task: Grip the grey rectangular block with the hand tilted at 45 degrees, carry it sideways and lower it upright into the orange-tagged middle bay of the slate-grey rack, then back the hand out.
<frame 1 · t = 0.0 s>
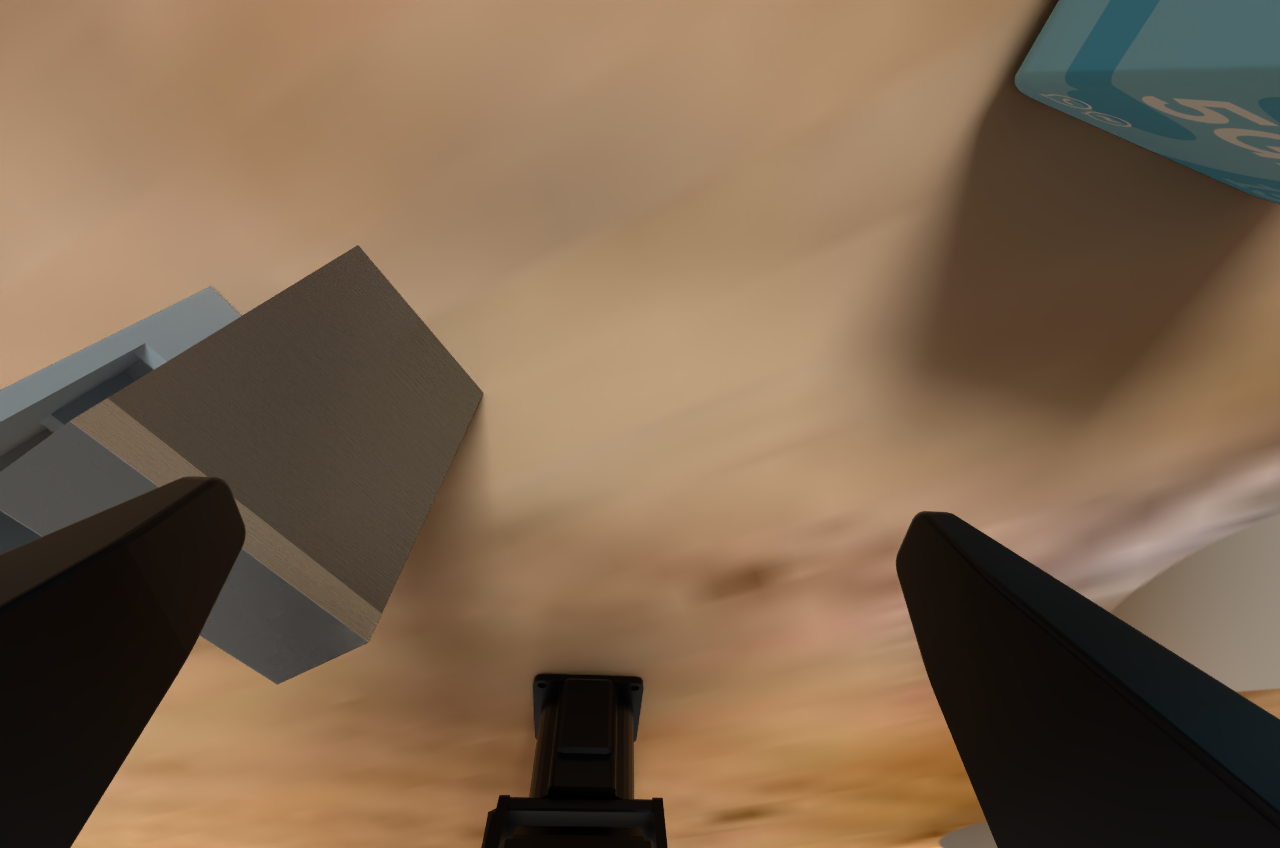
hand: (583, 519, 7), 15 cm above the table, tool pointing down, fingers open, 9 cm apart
data package: (1186, 71, 18), on the table
rack: (195, 472, 25), on the table
grey rectangular block: (396, 343, 22), on the table
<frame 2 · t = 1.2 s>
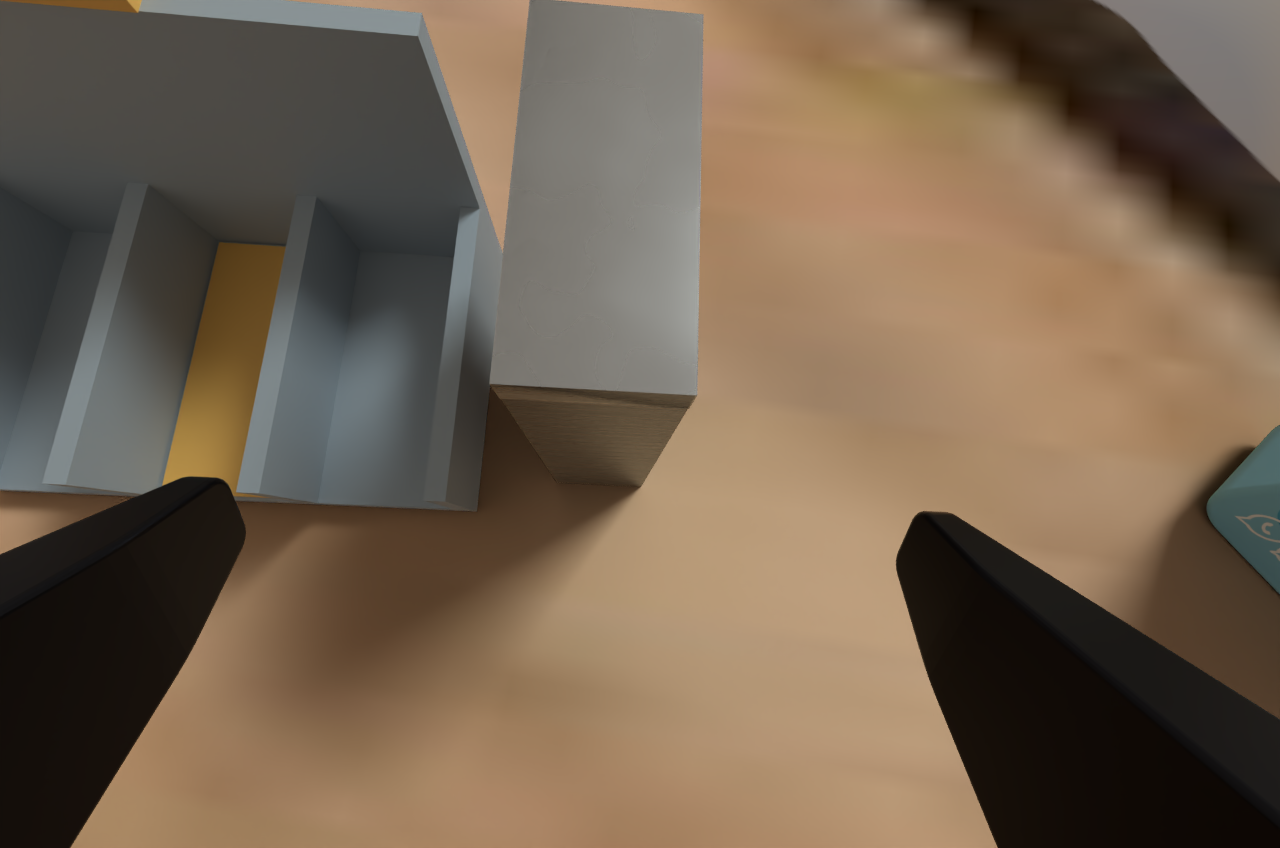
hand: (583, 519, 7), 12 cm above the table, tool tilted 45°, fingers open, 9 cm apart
rack: (270, 372, 20), on the table
grey rectangular block: (604, 390, 21), on the table
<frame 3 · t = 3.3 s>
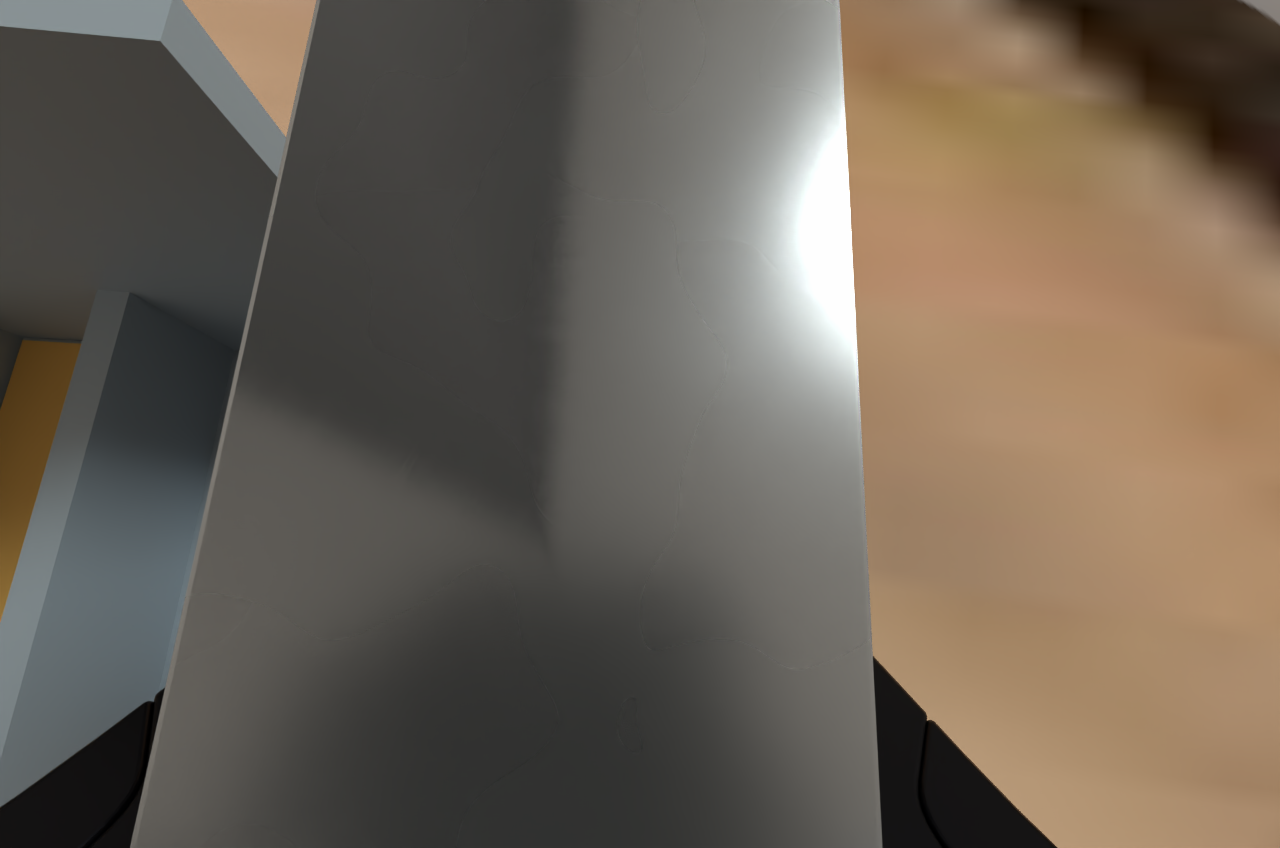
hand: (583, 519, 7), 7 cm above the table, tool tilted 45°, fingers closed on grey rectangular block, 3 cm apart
rack: (96, 532, 13), on the table
grey rectangular block: (589, 551, 14), on the table, touching gripper
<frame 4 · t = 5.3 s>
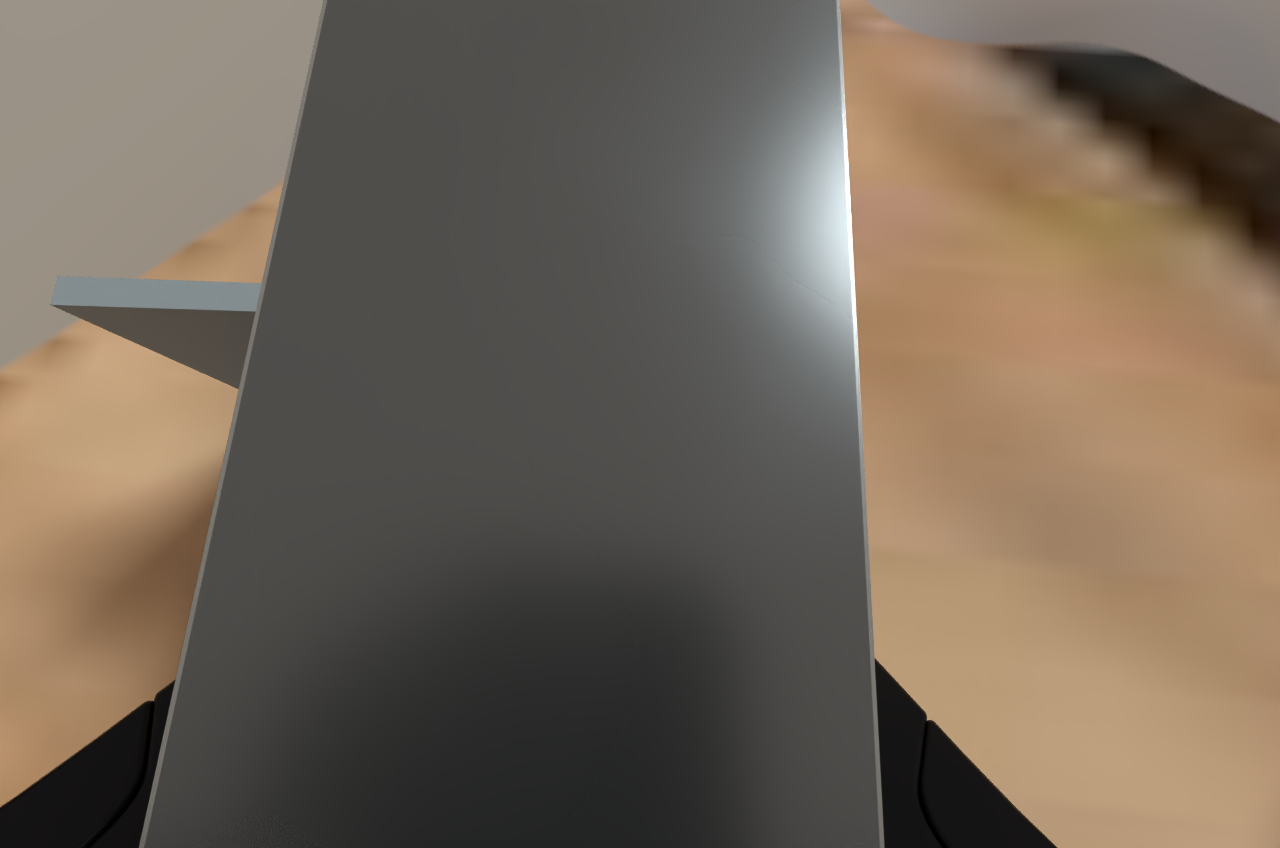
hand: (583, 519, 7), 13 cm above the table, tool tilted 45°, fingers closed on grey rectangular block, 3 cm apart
rack: (522, 552, 20), on the table
grey rectangular block: (591, 551, 14), point 6 cm above the table, touching gripper
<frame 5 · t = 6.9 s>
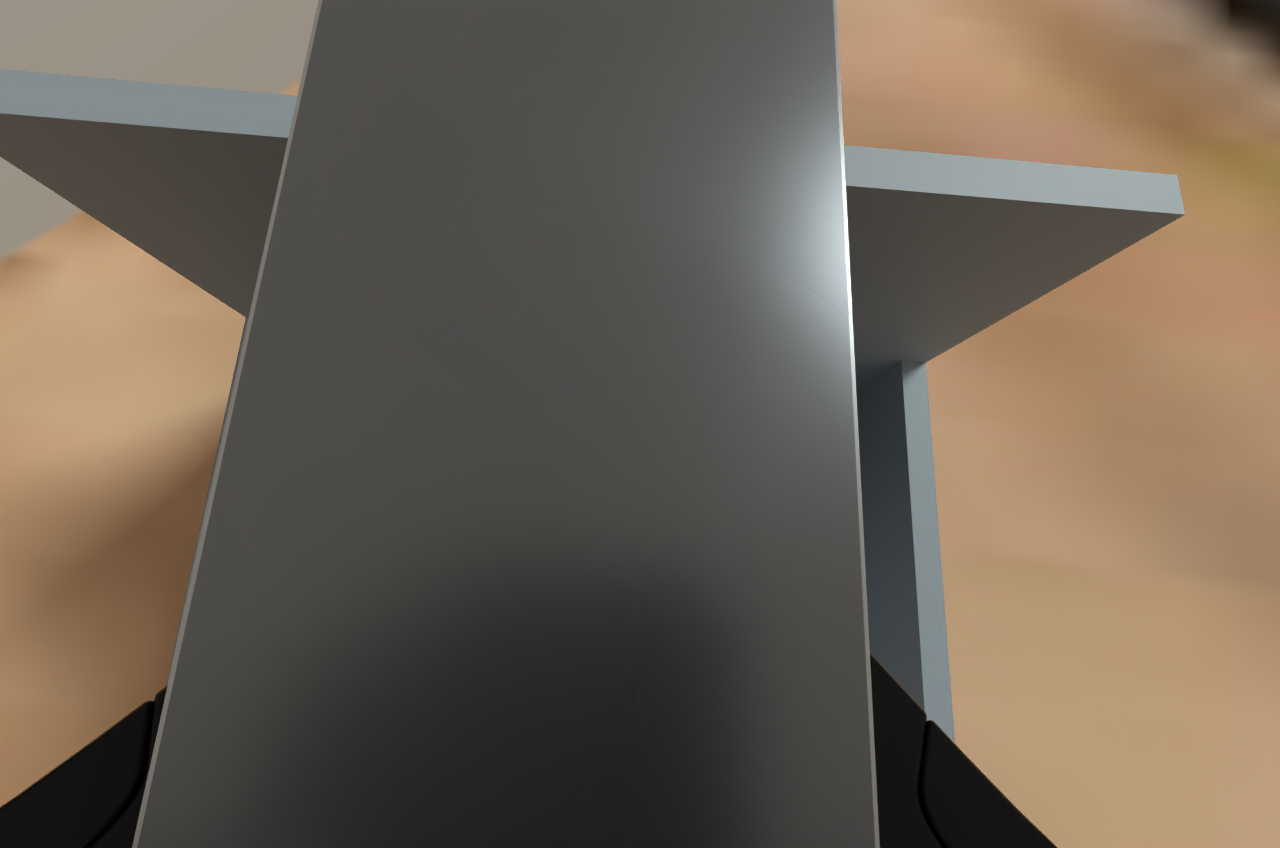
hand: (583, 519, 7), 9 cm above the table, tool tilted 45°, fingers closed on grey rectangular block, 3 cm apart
rack: (589, 546, 16), on the table
grey rectangular block: (590, 550, 14), point 1 cm above the table, touching gripper
when the fingers open (8 cm above the table, at t = 7.3 s): grey rectangular block stays where it is, resting on rack.
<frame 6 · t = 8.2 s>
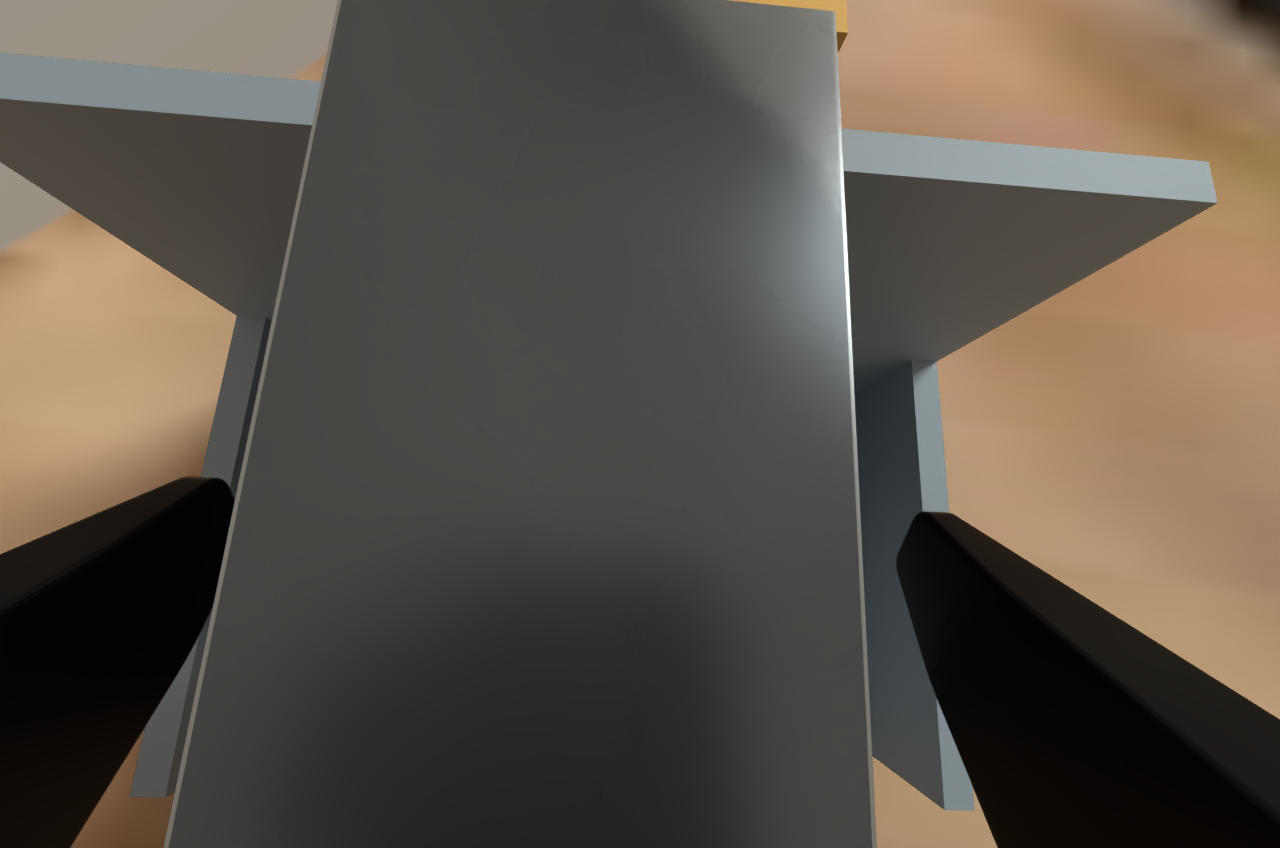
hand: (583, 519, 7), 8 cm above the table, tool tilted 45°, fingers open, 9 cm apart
rack: (590, 550, 15), on the table
grey rectangular block: (591, 554, 14), point 1 cm above the table, touching rack
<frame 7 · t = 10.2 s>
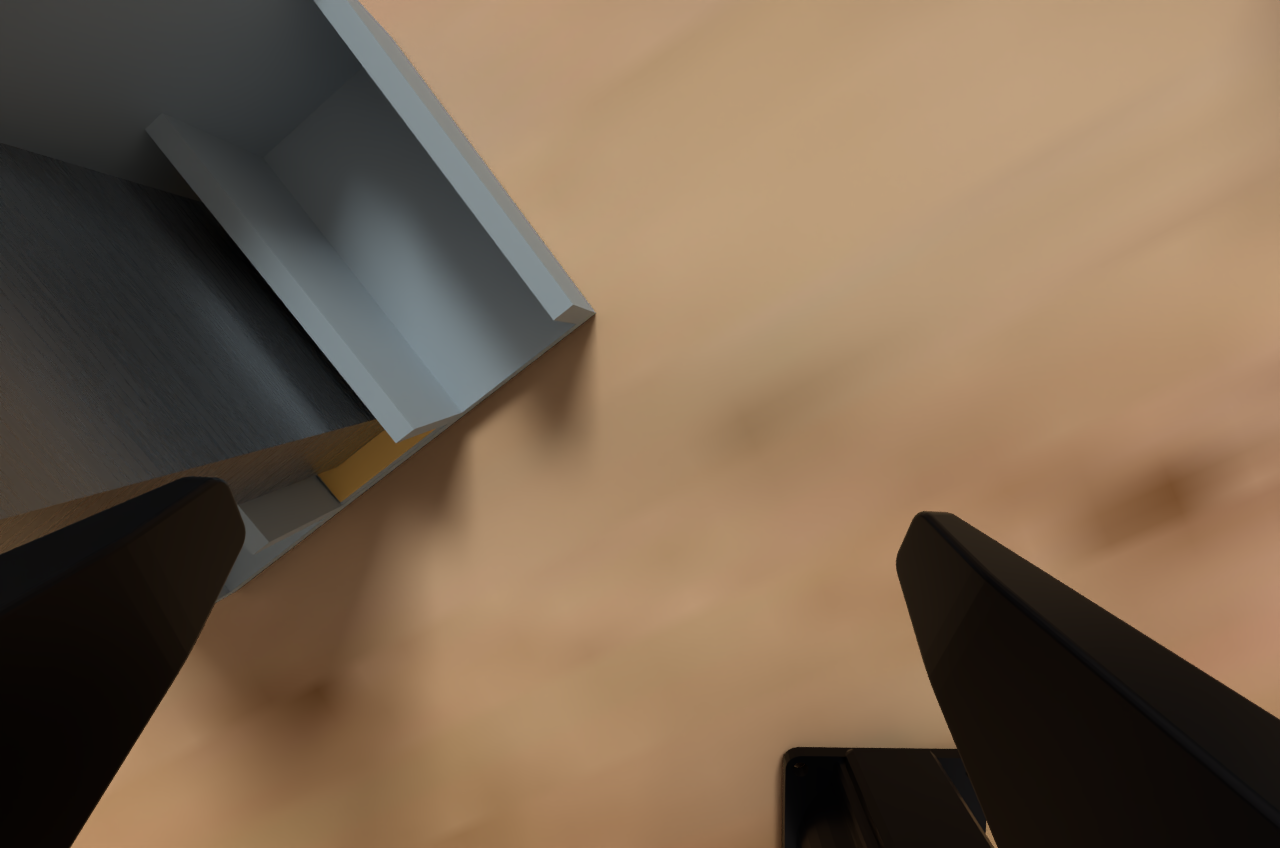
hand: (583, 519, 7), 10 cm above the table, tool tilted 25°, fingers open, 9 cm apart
rack: (313, 345, 18), on the table
grey rectangular block: (298, 346, 17), point 1 cm above the table, touching rack
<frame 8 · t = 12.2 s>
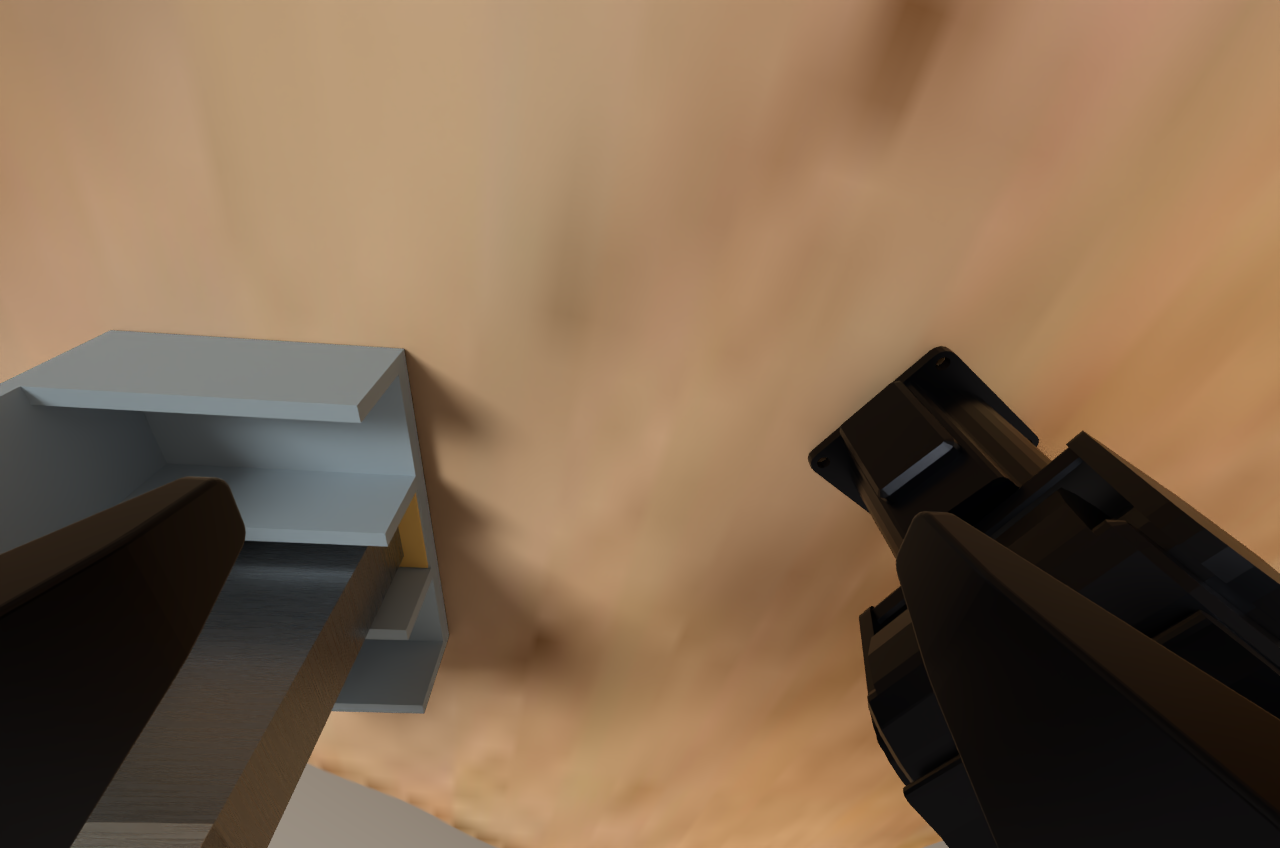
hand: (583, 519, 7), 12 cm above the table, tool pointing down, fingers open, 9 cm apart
rack: (319, 512, 23), on the table
grey rectangular block: (310, 525, 22), point 1 cm above the table, touching rack
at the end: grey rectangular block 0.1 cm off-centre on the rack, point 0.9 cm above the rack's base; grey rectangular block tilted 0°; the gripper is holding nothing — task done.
